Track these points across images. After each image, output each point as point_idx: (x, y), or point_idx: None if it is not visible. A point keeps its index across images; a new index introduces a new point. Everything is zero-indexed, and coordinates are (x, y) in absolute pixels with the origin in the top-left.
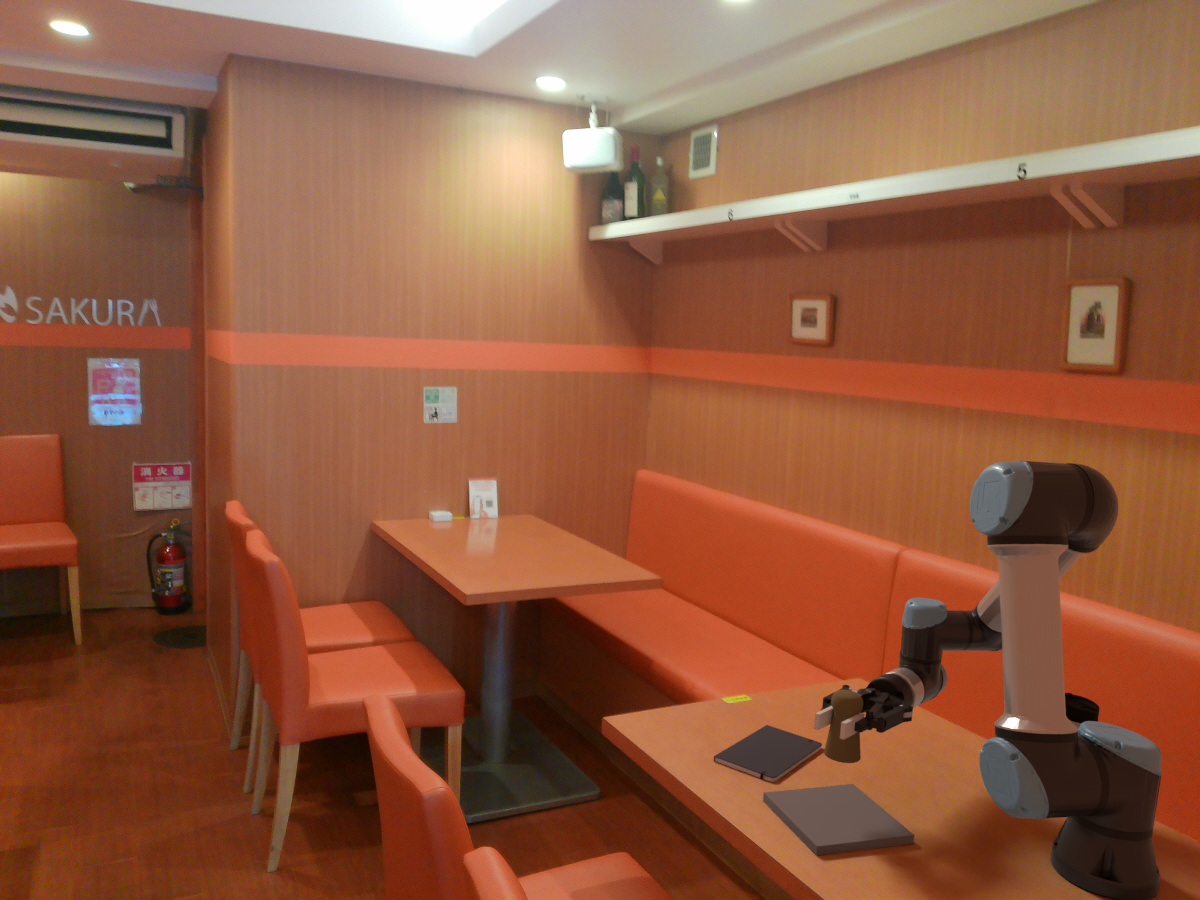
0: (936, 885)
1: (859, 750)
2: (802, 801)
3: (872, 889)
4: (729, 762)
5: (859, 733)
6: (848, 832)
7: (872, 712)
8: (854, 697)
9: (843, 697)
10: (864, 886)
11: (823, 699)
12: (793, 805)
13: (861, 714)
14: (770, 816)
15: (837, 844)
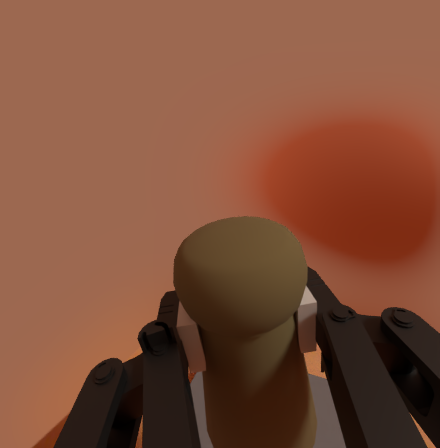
0: (50, 443)
1: (205, 409)
2: (335, 445)
3: (133, 355)
4: None
5: (206, 383)
6: (202, 420)
7: (140, 333)
8: (193, 234)
9: (223, 219)
10: (142, 352)
11: (401, 311)
12: (323, 410)
13: (183, 313)
14: (325, 376)
15: (196, 373)
